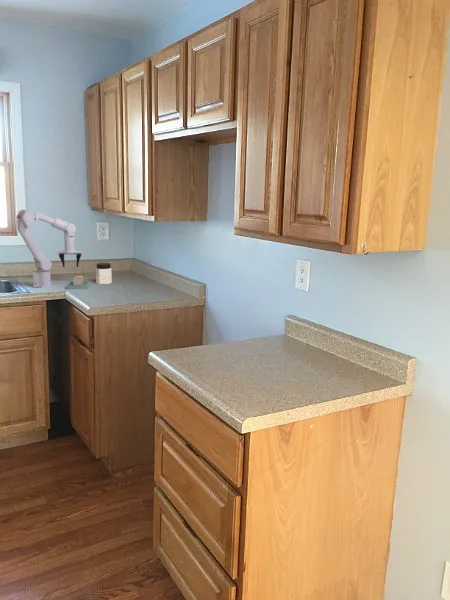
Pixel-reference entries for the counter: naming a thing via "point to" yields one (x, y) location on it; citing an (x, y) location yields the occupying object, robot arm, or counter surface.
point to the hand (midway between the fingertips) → (70, 266)
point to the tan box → (79, 277)
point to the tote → (85, 286)
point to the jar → (103, 273)
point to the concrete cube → (77, 281)
